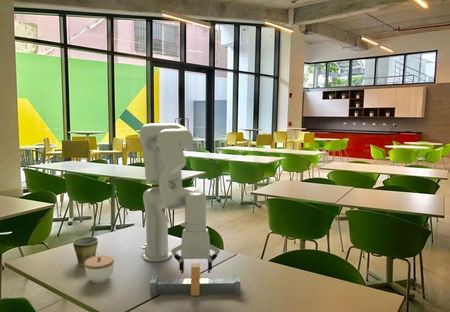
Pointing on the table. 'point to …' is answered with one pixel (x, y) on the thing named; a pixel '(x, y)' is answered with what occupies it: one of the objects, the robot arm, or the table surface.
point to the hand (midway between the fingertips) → (195, 271)
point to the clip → (195, 279)
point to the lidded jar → (99, 268)
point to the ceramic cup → (85, 248)
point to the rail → (185, 286)
